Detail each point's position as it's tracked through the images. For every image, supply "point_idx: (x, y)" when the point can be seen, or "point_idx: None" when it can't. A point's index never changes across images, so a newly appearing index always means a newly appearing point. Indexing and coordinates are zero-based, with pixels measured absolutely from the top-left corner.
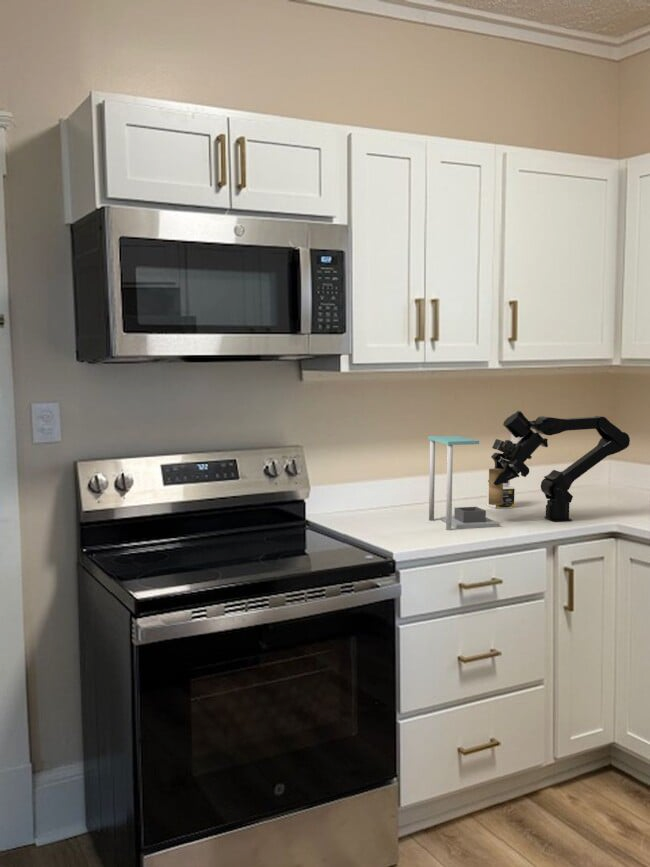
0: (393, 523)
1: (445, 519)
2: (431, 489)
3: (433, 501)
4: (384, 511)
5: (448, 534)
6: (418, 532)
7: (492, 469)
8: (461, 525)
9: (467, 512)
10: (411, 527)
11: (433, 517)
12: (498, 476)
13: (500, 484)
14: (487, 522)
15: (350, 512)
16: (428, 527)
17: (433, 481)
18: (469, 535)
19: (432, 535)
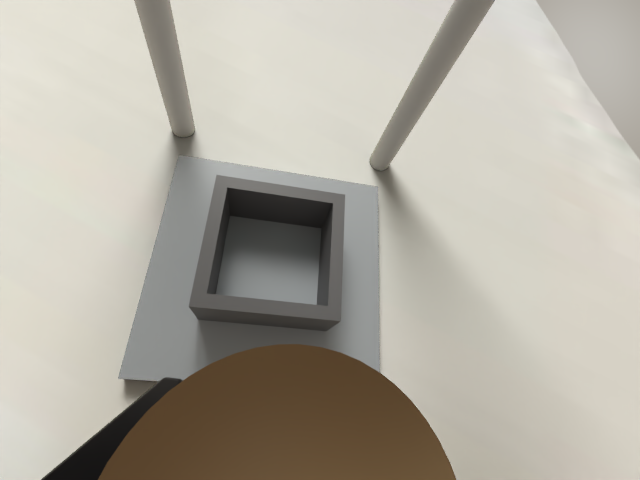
0: (356, 41)
1: (323, 178)
2: (432, 43)
3: (402, 106)
4: (553, 109)
5: (98, 84)
6: (187, 28)
7: (317, 438)
8: (175, 172)
9: (212, 197)
10: (276, 50)
11: (374, 157)
12: (99, 470)
13: None
14: (176, 320)
15: (537, 32)
16: (254, 91)
17: (458, 2)
18: (27, 137)
19: (115, 36)
